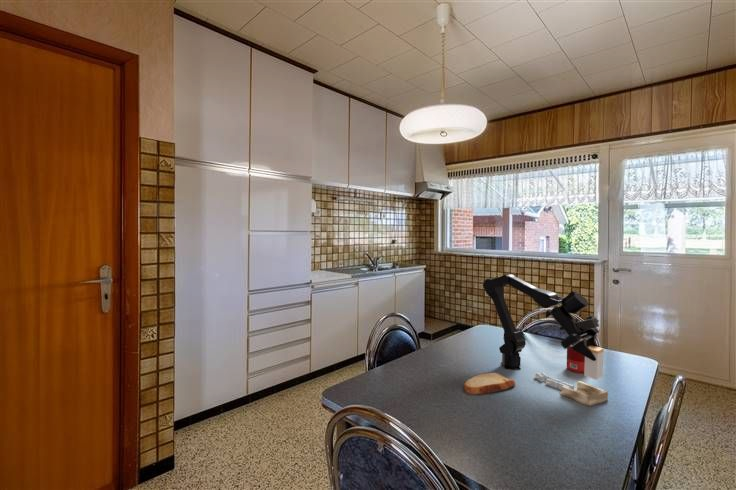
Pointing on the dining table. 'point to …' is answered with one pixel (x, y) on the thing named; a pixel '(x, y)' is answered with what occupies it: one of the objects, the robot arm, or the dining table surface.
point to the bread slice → (487, 383)
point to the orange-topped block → (594, 363)
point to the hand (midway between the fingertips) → (598, 358)
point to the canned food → (575, 361)
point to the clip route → (552, 381)
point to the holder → (585, 394)
